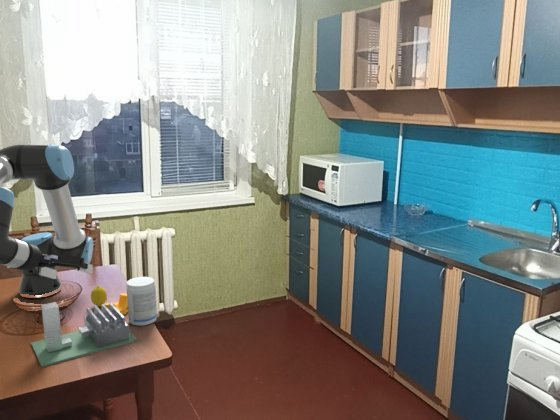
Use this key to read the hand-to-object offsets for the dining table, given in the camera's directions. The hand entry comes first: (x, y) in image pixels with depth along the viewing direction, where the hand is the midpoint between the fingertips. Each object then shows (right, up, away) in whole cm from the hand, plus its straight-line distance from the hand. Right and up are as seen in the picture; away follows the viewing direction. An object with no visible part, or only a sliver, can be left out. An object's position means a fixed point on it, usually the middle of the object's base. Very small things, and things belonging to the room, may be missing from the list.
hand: (73, 272), depth 153 cm
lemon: (-2, -17, +29) cm, 33 cm away
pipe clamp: (+6, -18, +20) cm, 28 cm away
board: (+3, -23, +2) cm, 23 cm away
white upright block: (-4, -23, -2) cm, 23 cm away
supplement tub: (+17, -19, +18) cm, 32 cm away
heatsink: (+7, -21, +5) cm, 23 cm away
